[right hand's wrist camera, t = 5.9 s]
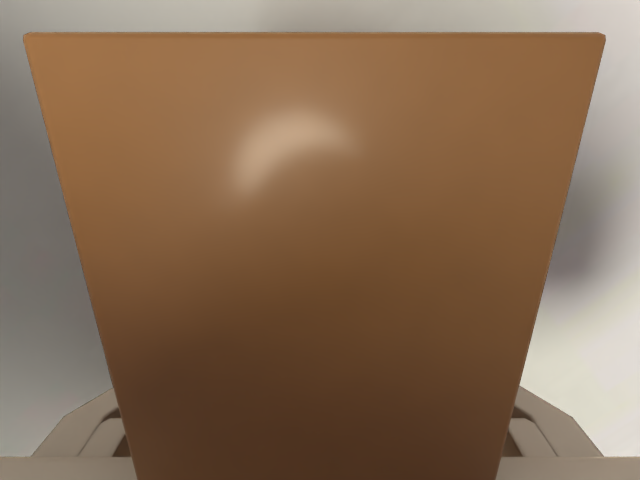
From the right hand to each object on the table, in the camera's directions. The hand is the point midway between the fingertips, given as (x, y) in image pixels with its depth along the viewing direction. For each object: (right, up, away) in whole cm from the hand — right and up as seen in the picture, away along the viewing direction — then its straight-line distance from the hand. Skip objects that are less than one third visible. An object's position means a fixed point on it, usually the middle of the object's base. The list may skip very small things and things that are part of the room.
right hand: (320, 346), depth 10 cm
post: (0, -24, +12) cm, 27 cm away
